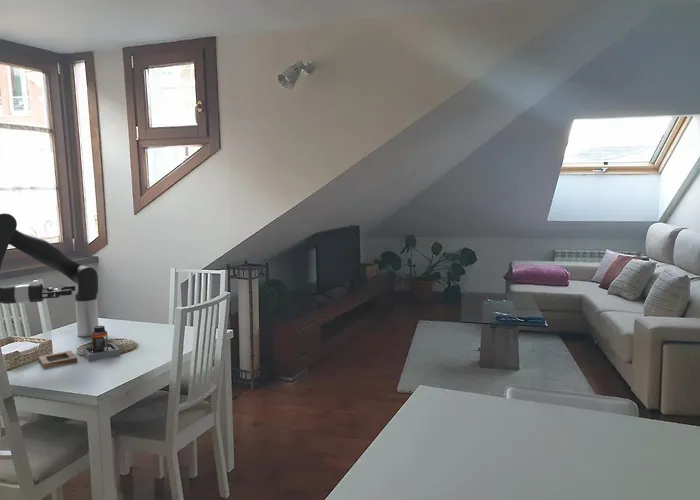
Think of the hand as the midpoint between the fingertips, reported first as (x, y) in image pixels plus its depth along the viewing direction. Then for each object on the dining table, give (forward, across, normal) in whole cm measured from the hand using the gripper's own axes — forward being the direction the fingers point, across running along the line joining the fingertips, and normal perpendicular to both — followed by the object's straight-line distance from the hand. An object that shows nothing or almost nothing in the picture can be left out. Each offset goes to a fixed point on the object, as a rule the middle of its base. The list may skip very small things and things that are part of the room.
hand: (73, 290), depth 220 cm
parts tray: (+9, -5, +28) cm, 30 cm away
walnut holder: (-7, -8, +28) cm, 30 cm away
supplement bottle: (+9, -5, +27) cm, 29 cm away
